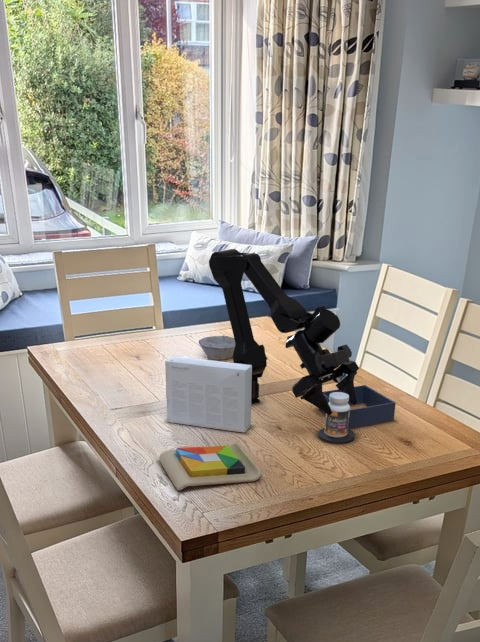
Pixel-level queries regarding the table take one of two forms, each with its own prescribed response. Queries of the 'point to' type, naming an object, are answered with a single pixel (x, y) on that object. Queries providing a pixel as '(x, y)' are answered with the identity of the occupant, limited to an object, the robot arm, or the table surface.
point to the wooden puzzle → (209, 465)
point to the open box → (376, 411)
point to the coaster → (342, 440)
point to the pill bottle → (338, 415)
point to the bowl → (218, 347)
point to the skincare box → (209, 393)
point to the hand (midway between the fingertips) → (343, 409)
